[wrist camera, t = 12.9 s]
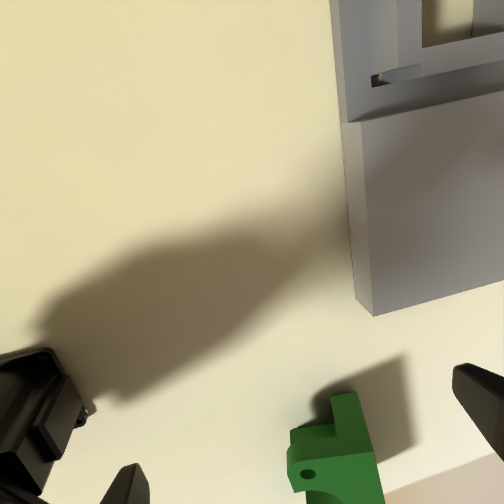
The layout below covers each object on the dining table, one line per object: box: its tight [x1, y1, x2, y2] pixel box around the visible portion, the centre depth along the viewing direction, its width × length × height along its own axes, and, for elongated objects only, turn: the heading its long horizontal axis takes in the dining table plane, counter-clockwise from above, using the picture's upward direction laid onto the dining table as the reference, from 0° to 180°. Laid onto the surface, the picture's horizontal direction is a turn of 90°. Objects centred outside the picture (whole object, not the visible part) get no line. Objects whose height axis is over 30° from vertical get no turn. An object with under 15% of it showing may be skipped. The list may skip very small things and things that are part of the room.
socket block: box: [330, 0, 504, 317], centre depth 18 cm, size 11×23×4 cm, turn 11°
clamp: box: [287, 392, 385, 504], centre depth 26 cm, size 12×6×9 cm, turn 11°
